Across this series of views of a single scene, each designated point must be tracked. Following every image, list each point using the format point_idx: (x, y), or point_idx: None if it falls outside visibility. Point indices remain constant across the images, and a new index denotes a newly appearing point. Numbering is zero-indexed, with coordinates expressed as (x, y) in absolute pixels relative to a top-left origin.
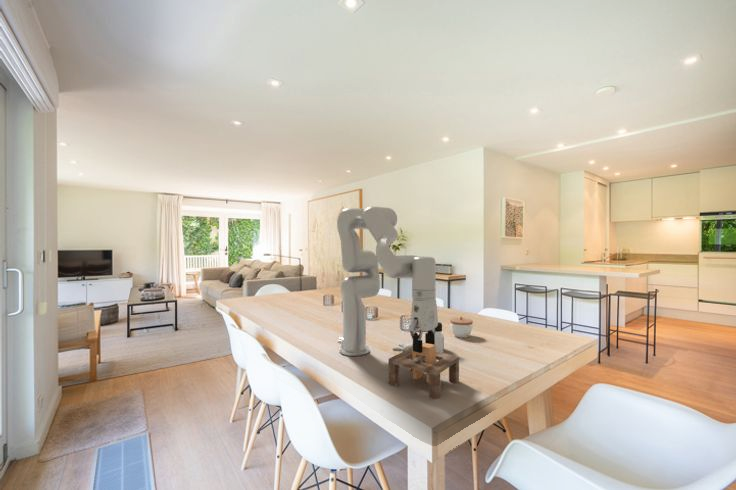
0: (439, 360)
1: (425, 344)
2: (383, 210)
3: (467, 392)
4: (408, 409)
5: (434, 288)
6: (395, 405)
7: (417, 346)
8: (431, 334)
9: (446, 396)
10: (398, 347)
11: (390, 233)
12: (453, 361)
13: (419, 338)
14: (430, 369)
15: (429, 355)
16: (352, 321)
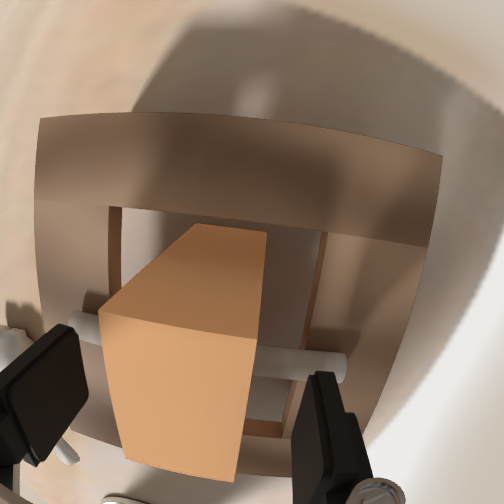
0: (189, 211)
1: (153, 405)
2: None
3: (225, 54)
4: (488, 237)
5: None
6: (478, 290)
7: (358, 440)
8: (11, 414)
9: (324, 125)
10: (54, 450)
11: None
12: (126, 114)
13: (403, 501)
14: (427, 209)
15: (260, 299)
16: None
